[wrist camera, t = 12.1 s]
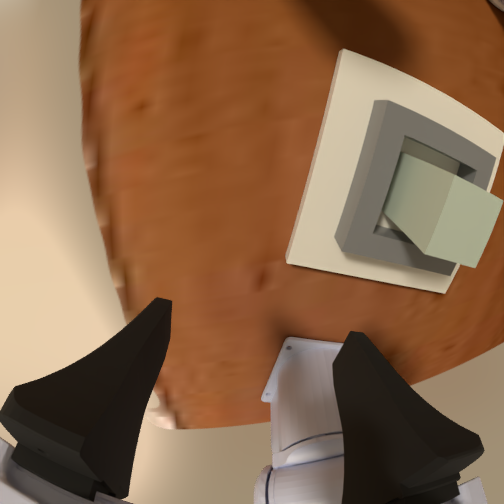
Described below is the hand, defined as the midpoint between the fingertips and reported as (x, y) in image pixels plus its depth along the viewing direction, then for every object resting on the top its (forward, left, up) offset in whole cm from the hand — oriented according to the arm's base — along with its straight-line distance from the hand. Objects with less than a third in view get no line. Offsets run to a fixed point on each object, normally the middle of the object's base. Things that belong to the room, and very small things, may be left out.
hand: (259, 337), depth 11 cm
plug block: (+6, -9, -8) cm, 14 cm away
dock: (+6, -9, -9) cm, 14 cm away
